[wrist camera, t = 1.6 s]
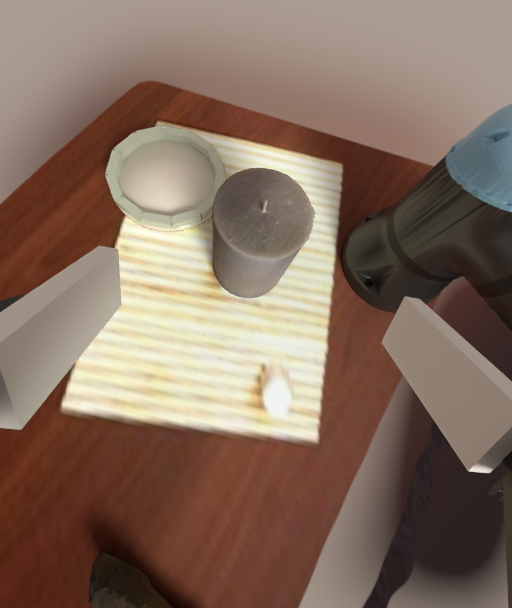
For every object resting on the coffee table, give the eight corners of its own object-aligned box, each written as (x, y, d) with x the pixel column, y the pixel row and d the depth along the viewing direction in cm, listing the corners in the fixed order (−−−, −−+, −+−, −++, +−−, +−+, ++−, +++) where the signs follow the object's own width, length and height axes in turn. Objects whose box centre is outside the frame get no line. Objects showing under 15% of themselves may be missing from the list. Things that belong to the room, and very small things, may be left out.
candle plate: (231, 148, 43) (232, 138, 42) (216, 240, 39) (216, 234, 37) (126, 127, 42) (121, 115, 40) (97, 220, 38) (91, 212, 36)
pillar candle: (208, 238, 39) (202, 160, 25) (274, 230, 41) (305, 152, 26) (219, 304, 37) (221, 261, 23) (289, 293, 39) (331, 246, 24)
